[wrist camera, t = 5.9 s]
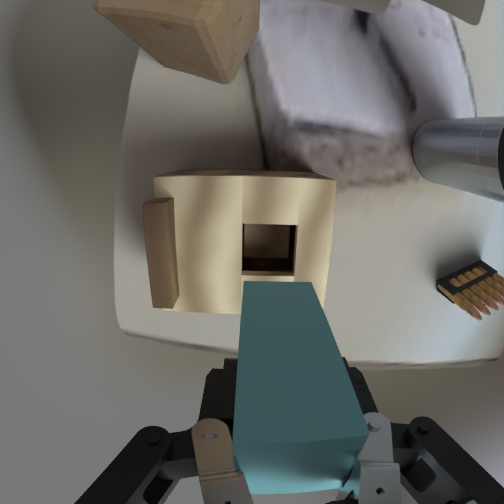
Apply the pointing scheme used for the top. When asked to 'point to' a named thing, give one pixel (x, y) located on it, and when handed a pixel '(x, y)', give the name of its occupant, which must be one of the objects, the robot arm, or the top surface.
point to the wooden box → (262, 228)
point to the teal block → (292, 394)
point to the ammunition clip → (474, 289)
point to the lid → (231, 236)
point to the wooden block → (189, 32)
